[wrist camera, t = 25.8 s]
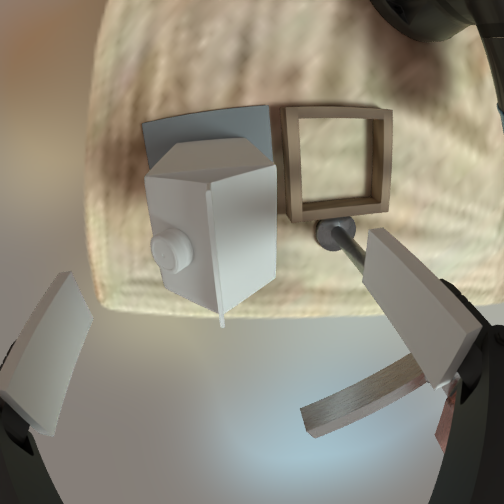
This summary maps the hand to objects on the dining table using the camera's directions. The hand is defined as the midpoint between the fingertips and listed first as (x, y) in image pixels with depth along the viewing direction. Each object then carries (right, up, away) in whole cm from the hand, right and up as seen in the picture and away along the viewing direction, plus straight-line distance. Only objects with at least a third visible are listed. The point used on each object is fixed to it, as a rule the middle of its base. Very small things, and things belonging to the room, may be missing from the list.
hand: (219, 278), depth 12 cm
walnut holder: (+11, +12, +19) cm, 25 cm away
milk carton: (-3, +10, +18) cm, 20 cm away
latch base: (+12, +4, +23) cm, 26 cm away
